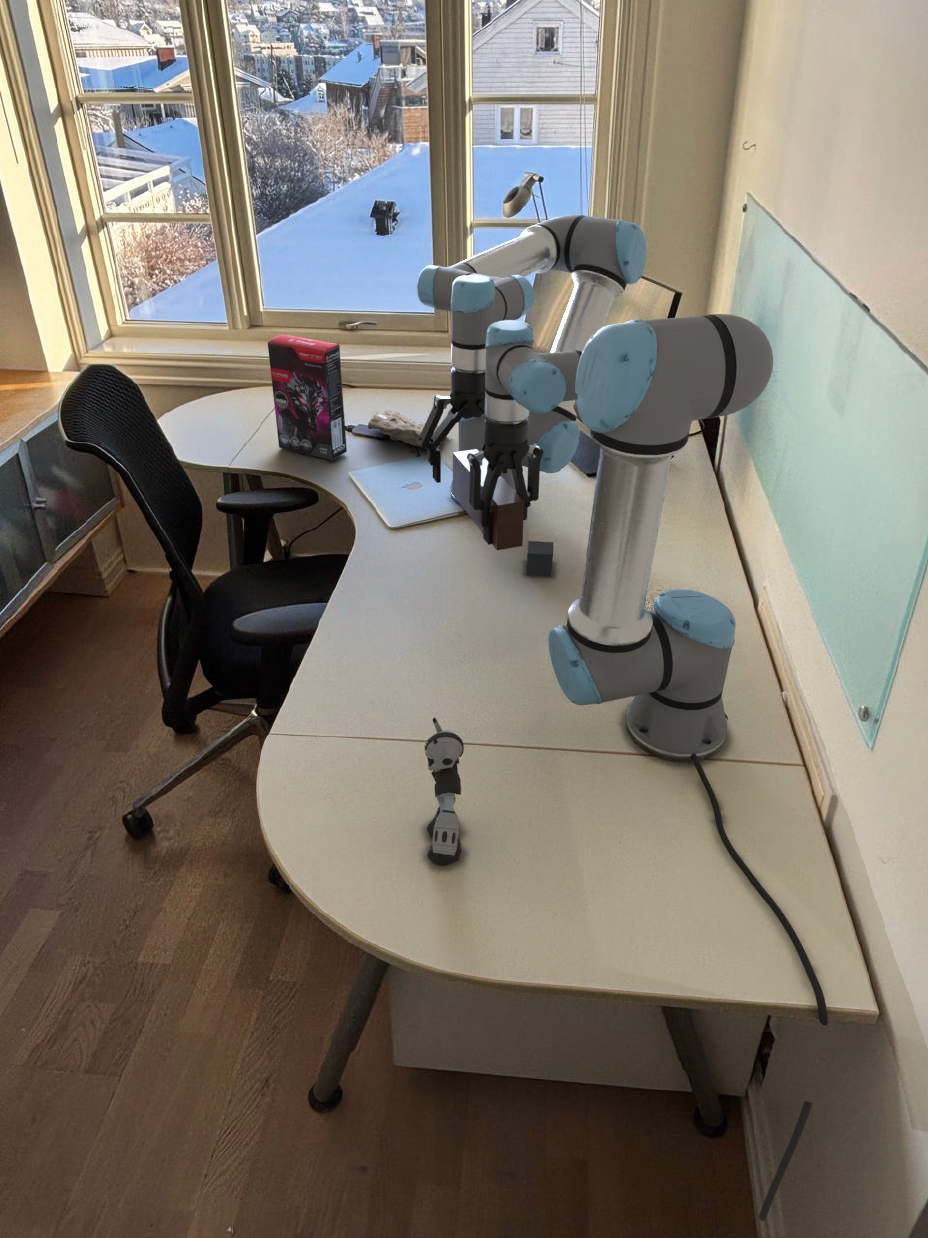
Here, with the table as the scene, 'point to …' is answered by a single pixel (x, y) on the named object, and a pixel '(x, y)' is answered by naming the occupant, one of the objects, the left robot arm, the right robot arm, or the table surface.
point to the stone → (397, 427)
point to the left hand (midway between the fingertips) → (469, 475)
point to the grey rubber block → (539, 558)
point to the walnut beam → (503, 503)
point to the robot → (444, 794)
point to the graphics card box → (308, 395)
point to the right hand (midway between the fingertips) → (502, 538)
